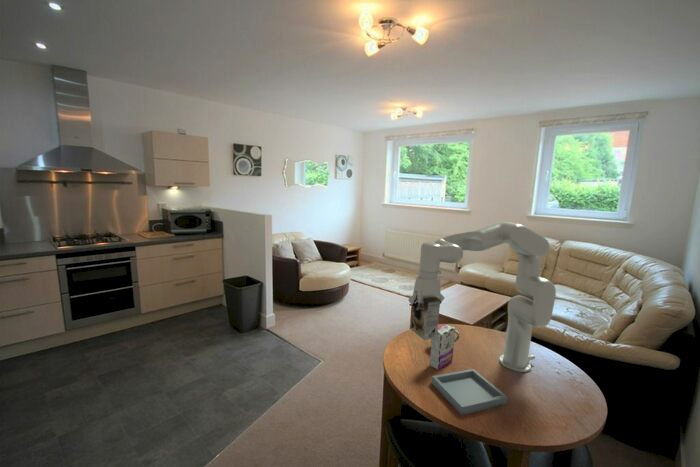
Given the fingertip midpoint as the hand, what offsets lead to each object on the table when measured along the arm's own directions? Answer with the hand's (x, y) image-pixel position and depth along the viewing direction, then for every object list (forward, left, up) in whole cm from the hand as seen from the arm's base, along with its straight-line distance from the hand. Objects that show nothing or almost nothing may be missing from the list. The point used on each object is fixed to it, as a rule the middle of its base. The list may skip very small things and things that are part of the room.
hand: (425, 316), depth 125 cm
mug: (-24, -16, -26) cm, 38 cm away
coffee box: (0, 0, -7) cm, 7 cm away
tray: (-12, +15, -25) cm, 32 cm away
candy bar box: (-14, -5, -26) cm, 30 cm away
